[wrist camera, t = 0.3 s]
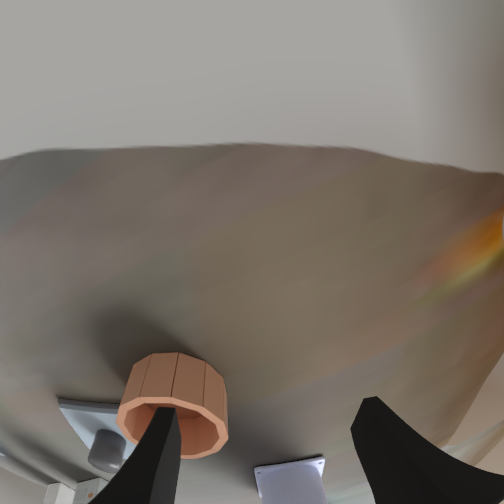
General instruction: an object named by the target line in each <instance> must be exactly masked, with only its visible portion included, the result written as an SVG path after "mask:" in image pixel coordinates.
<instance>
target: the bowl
mask: <svg viewBox="0 0 504 504" xmlns="http://www.w3.org/2000/svg"><path fill="white" fill-rule="evenodd" d="M158 407H171V408H176V413H177V418H178V423H179V428H180V433H181V438H182V439H181V459H198V458H201V457H204V456H207V455H210V454H213V453H216V452H218V451H219V450H220V449H221V448H222V446H223V445H224V444H225V443H226V441H227V440H228V411H227V392H226V388H225V383H224V378H223V377H222V376H221V375H220V374H219V373H218V372H217V371H216V370H215V369H213V368H212V367H211V366H210V365H209V364H208V363H207V362H205V361H203V360H200V359H197V358H194V357H191V356H188V355H185V354H182V353H180V352H179V353H178V352H174V353H152V354H150V355H148V356H147V357H145V358H143V359H142V360H140V361H138V362H137V363H135V364H134V365H133V367H132V370H131V373H130V376H129V379H128V382H127V385H126V388H125V391H124V394H123V397H122V400H121V403H120V406H119V410H118V414H117V418H116V423H117V425H118V427H119V428H120V430H121V431H122V433H123V434H124V436H125V438H126V439H128V440H129V441H131V442H132V443H134V444H135V445H137V444H138V442H139V441H140V439H141V438H142V436H143V434H144V432H145V431H146V429H147V427H148V425H149V423H150V421H151V420H152V418H153V416H154V413H155V411H156V409H157V408H158Z"/></svg>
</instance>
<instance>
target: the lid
mask: <svg viewBox="0 0 504 504" xmlns="http://www.w3.org/2000/svg"><path fill="white" fill-rule="evenodd" d="M59 408H60V410H61V411H62V413H63V414H64V416H65V417H66V419H67V420H68V422H69V423H70V424H71V426H72V427H73V428H74V430H75V431H76V433H77V434H78V435H79V436H80V438H81V439H82V440H83V442H84V443H85V444H86V445H87V447H88V448H89V449H90V453H89V456H88V462H89V463H90V464H91V465H92V466H94V467H95V468H97V469H99V470H101V471H104V472H107V473H113V474H115V473H117V472H118V471H119V470H120V468H121V465H122V460H123V459H128V457H129V456H130V455H131V453H132V452H133V450H134V449H135V447H136V446H137V445H135V444H134V443H132V442H131V441H129V440H128V439H126V438H125V436H124V434H123V433H122V431H121V430H120V428H119V427H118V425H117V423H116V418H117V414H118V410H119V409H105V408H94V407H84V406H76V405H68V404H61V405H60V407H59Z"/></svg>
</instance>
